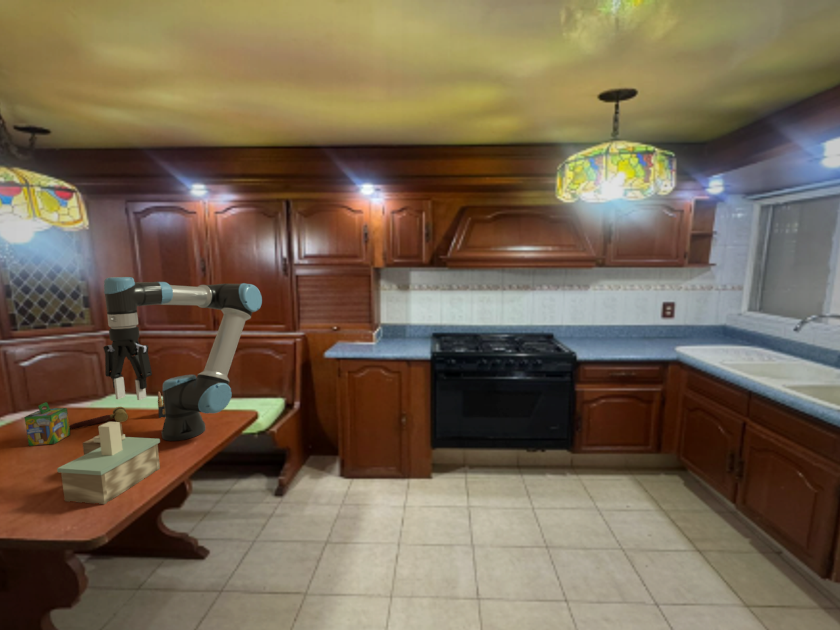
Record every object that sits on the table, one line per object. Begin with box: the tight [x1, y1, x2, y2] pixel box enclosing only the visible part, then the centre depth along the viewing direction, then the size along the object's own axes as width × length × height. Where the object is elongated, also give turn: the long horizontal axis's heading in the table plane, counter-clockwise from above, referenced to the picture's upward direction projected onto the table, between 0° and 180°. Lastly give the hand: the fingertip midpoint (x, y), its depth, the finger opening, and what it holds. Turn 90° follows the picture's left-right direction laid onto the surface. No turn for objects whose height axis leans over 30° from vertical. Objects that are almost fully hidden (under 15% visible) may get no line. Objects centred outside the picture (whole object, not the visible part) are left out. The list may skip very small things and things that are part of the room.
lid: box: [56, 421, 161, 475], centre depth 121 cm, size 21×14×11 cm, turn 172°
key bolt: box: [93, 422, 126, 443], centre depth 129 cm, size 4×8×6 cm, turn 82°
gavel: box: [69, 406, 129, 430], centre depth 171 cm, size 21×5×10 cm
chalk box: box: [24, 401, 71, 447], centre depth 154 cm, size 9×9×15 cm
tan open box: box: [60, 437, 161, 505], centre depth 123 cm, size 20×22×10 cm
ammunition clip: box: [157, 391, 165, 419], centre depth 180 cm, size 11×2×12 cm, turn 131°
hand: (131, 398), depth 127 cm, fingers open, 7 cm apart
